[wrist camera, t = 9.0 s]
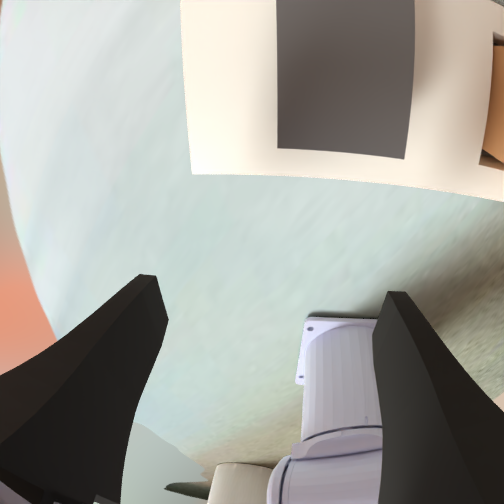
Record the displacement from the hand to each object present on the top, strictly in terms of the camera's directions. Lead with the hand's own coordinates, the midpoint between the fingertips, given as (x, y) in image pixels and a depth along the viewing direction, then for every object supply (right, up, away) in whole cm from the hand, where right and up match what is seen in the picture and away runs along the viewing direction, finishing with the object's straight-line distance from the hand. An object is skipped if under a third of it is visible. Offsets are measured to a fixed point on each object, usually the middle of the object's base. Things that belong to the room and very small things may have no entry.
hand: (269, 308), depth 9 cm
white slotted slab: (+8, +11, +3) cm, 14 cm away
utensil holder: (-1, -45, +44) cm, 63 cm away
